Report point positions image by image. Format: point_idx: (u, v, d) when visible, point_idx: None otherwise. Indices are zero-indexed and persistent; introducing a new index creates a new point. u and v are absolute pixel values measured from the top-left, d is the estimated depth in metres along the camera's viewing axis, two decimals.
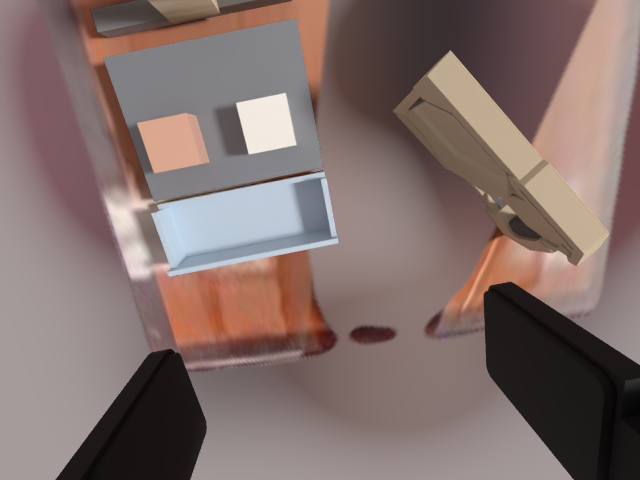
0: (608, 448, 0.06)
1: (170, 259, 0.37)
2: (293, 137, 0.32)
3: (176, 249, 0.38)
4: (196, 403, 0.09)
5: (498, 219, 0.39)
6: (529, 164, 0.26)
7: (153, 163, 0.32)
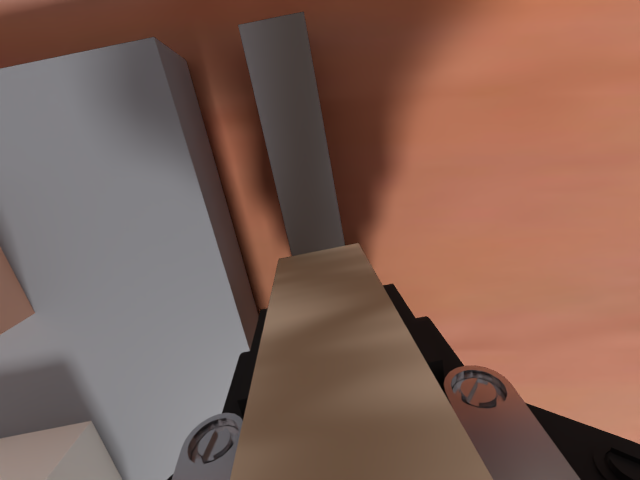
0: None
1: None
2: None
3: None
4: None
5: None
6: None
7: None
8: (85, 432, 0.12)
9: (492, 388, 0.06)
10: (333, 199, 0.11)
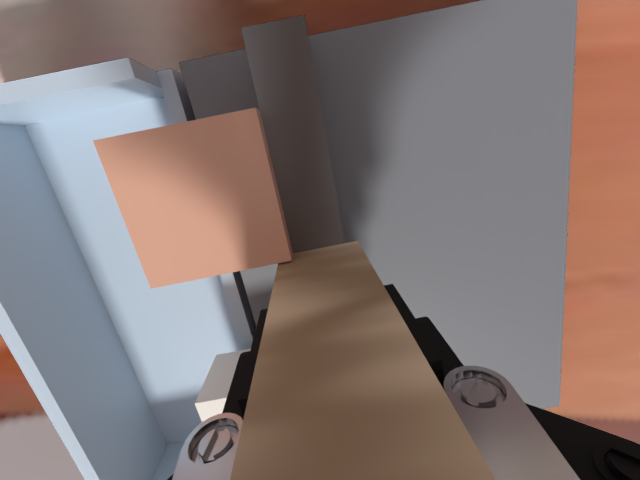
0: None
1: None
2: None
3: (26, 112, 0.12)
4: None
5: None
6: None
7: (127, 144, 0.09)
8: None
9: (491, 388, 0.06)
10: (333, 198, 0.11)
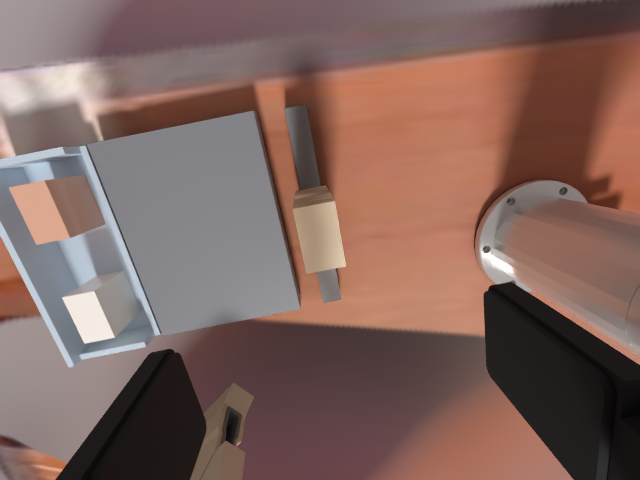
0: (608, 448, 0.06)
1: None
2: None
3: (23, 164, 0.28)
4: (195, 403, 0.09)
5: None
6: None
7: None
8: (90, 293, 0.28)
9: None
10: (316, 168, 0.30)
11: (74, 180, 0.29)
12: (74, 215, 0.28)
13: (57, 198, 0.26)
